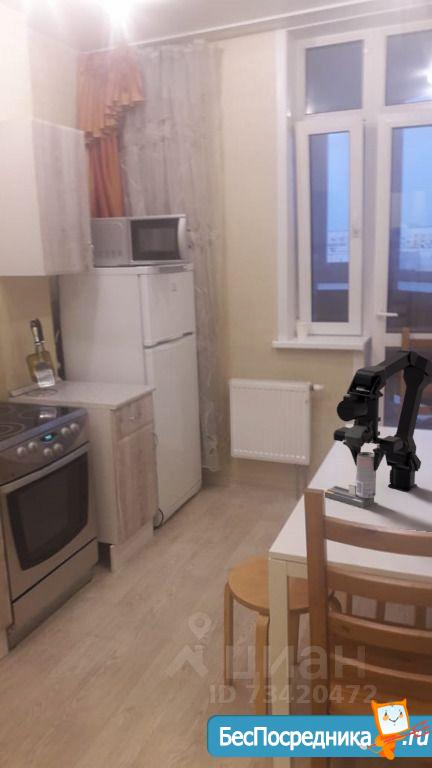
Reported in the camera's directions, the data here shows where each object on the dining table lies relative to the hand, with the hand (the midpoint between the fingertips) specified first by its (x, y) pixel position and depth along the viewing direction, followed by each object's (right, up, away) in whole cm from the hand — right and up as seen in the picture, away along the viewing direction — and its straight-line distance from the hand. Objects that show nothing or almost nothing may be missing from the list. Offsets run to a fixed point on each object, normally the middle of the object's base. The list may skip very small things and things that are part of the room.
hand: (366, 468), depth 171 cm
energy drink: (0, -8, +1) cm, 8 cm away
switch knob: (-2, -8, +4) cm, 10 cm away
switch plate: (-4, -10, +6) cm, 12 cm away
